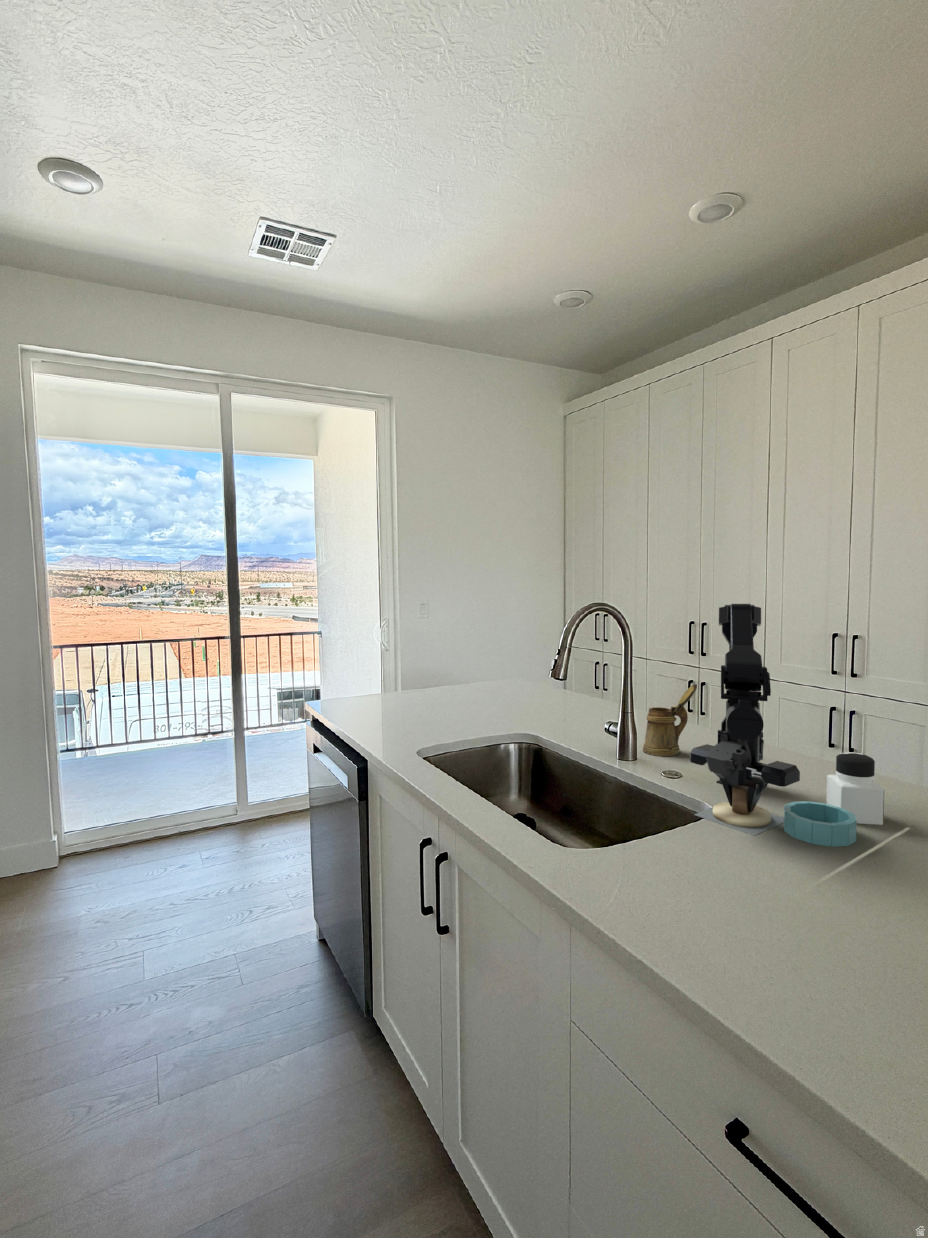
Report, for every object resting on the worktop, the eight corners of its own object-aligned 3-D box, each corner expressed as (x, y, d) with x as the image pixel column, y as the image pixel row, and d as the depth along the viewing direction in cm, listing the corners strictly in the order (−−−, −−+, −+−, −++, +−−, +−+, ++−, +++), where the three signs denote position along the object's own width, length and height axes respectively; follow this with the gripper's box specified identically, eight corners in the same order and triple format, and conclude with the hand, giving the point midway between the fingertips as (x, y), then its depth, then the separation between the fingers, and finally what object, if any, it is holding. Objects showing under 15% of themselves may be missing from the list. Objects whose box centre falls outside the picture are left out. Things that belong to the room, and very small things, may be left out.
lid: (701, 815, 116) (701, 786, 116) (731, 803, 122) (731, 776, 121) (752, 832, 108) (752, 801, 107) (781, 818, 114) (782, 789, 113)
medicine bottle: (884, 827, 110) (885, 761, 109) (840, 824, 112) (841, 759, 111) (866, 812, 117) (868, 750, 116) (825, 810, 119) (827, 749, 118)
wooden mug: (700, 757, 154) (700, 687, 153) (644, 755, 156) (644, 686, 155) (693, 748, 163) (694, 681, 162) (641, 746, 165) (641, 680, 164)
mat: (693, 816, 116) (693, 814, 116) (730, 802, 123) (730, 800, 123) (754, 837, 106) (754, 835, 106) (790, 821, 113) (790, 819, 113)
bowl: (771, 832, 109) (772, 810, 108) (802, 818, 115) (803, 797, 114) (836, 854, 100) (837, 830, 99) (866, 837, 106) (867, 814, 106)
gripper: (672, 724, 117) (672, 804, 118) (768, 744, 101) (766, 836, 102) (707, 715, 123) (706, 791, 124) (802, 734, 108) (800, 820, 109)
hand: (741, 809), depth 115 cm, fingers closed on lid, 3 cm apart
